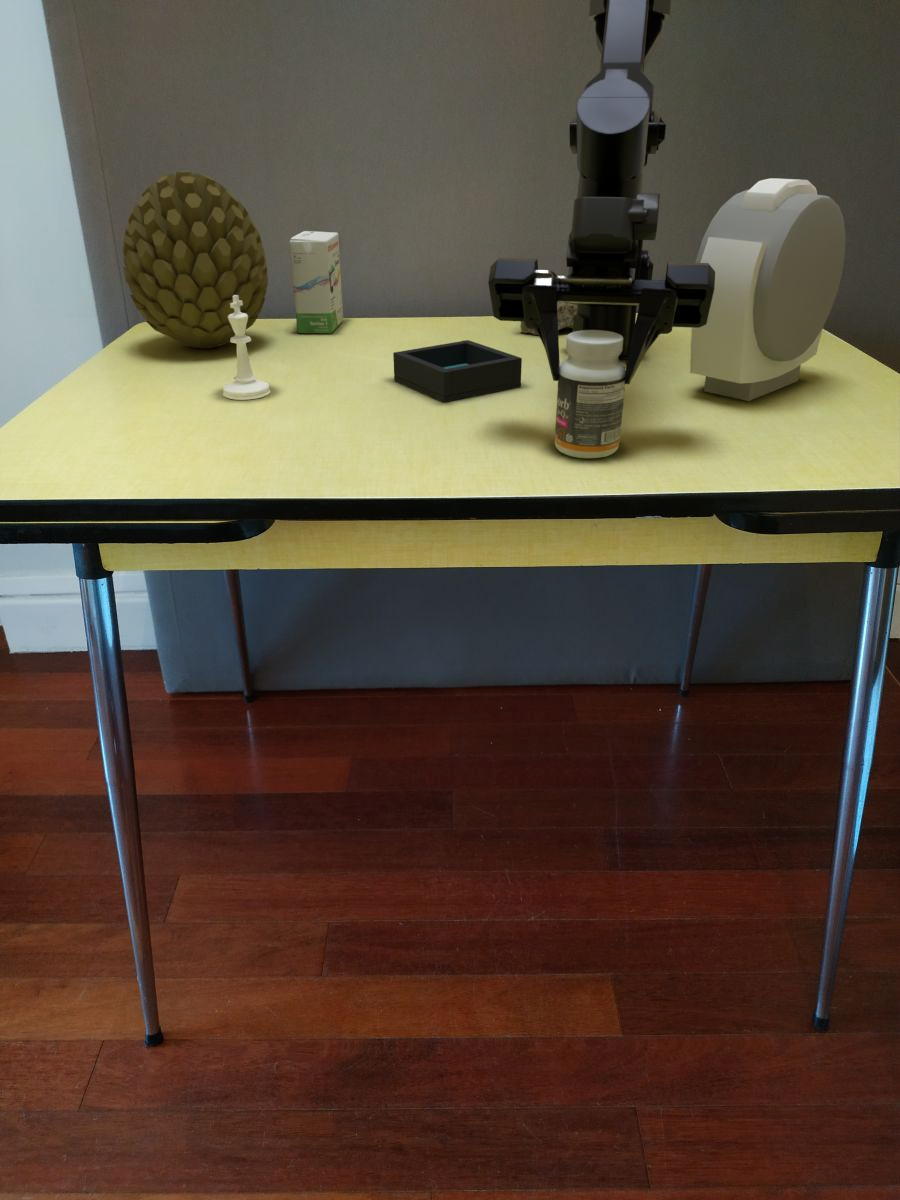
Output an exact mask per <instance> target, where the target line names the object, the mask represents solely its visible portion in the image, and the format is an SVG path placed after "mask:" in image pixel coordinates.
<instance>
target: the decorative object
mask: <svg viewBox="0 0 900 1200" xmlns="http://www.w3.org/2000/svg"><path fill="white" fill-rule="evenodd" d="M175 173H176V174H174V173H171V174H170V173H169V174H166V175H163V176H162V177H160V178H158V180H157V181H156V186H155V184H154V183H152V182H151V184H150V185H149V186H148V187H147V189H145V191H143V192H142V194H141V196H142V197H141V199H140V201H139V203H137V204H134V205H133V207H132V209H131V211H130V214H129V215H128V219H127V224H126V226H125V227H126V228H125V233H124V236H123V240H122V254H123V256H122V257H123V264H124V266H122V267H123V273H124V278H125V282H126V284H127V285H128V287H129V290H130V292H131V294H130V297H131V300H132V302H133V304H134V306H135V308H136V309H137V310H138V311H139V312H140V314H141V316H142V317H143V318H144V319H145V322H146V323H147V324H148V325H149V326H150V328H152V329H153V330H154V331H155V332H157V333H160V334H162V335H164V336H166V337H169V338H170V339H173V340H174V341H177V342H178V343H180V344H183V345H185V346H186V347H189V348H194V349H205V350H206V349H213V348H217V347H220V346H224V345H226V344H228V343H231V342H230V340H231V337H234V335H235V333H234V331H233V328H232V326H231V323H230V322H229V319H228V316H229V315H230V314H232V313H234V308H230V303H233V296H234V295H238V296H239V300H241V301H243V305H242V306H240V312H242V313H245V314H247V315H248V321H247V325H246V331H247V330H249V328H251V327H252V326H253V325H254V324H255V322H256V321H257V319H258V317H259V314H261V312H262V309H263V308H264V304H265V301H266V294H267V288H268V285H269V275H268V265H267V259H266V253H265V249H264V246H263V241H262V239H261V235H260V232H259V230H258V228H257V226H256V225H255V223H254V220H253V219H252V217H251V216H250V214H249V212H248V210H247V209H246V208H245V206H244V205H243V204H242V203H241V202H240V200H239V199H237V197H236V196H235V195H234V193H232V192H230V191H229V190H228V189H227V188H225V187H224V186H223V185H222V184H220V183H219V182H218V181H216V180H215V179H214V178H213V177H211V176H209V175H207V174H203V175H202V174H199V173H192V171H191V170H183V171H181V170H179V171H176V172H175Z"/></svg>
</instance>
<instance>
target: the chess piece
mask: <svg viewBox="0 0 900 1200" xmlns="http://www.w3.org/2000/svg"><path fill="white" fill-rule="evenodd" d="M242 305H243V301H241V300H239V296H238V295H234V296H233V303H230V308H234V313H232V314H230V315H229V316H228V319H229V322H230V323H231V326H232V328H233V331H234V333H235V335H234V337H231V340H230V342H229V343H233V344H236V374H235V375H236V376H234V377H233V381H230V382H228V383H226V384H225V385H224V386H223V388H222V390H223V392H222V395H223V397H224V398H226V399H231V400H236V401H237V400H238V401H243V400H244V401H245V400H247V401H248V400H254V399H255V400H256V399H260V398H264V397H266V396H268V395H269V394H270V393H271V389H270V385H269V383H267V382H266V381H264V380H262V379H261V380H260V379H257V376H256V375H254V373H253V370H252V366H251V362H250V357H249V354H248V348H247V344H248V343H250V342H252V338H251V336H249V335H247V334H246V331H247V330H246V325H247V321H248V315H247V314H245V313H242V312H240V306H242Z"/></svg>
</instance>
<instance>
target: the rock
mask: <svg viewBox="0 0 900 1200" xmlns="http://www.w3.org/2000/svg"><path fill="white" fill-rule="evenodd" d="M577 308H578V303H575V304H571V303H570V301H558V302H557V313H558V331H560V330H562V329H566V328H568V329H573V319H574V315H575V314H577ZM519 328H520V331H521V332H522V333H530V334H532V335H533V336H539V334H538V332H537V330H535V329H529V328H527V327H526V326H525V322H524V321H520V327H519Z"/></svg>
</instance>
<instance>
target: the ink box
mask: <svg viewBox="0 0 900 1200" xmlns="http://www.w3.org/2000/svg"><path fill="white" fill-rule="evenodd" d="M339 239H340V238H339V232H335V231H334V232H331V231H318V230H317V231H316V230H304V231H302V232H299V233H298V234H295V235H294V236H292V237H290V240H289V251H290V264H291V274H292V287H293V295H294V296H293V297H294V298H293V299H294V307H295V308H294V310H295V319H296V321H295V322H296V331H297V333H298V334H333V333H334V331H335V330H336V329H337V328H338V327H339V325H341V323H343V321H344V311H343V310H344V309H343V293H342V292H343V291H342V276H341V261H340V260H341V259H340V258H341V257H340V241H339Z"/></svg>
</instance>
